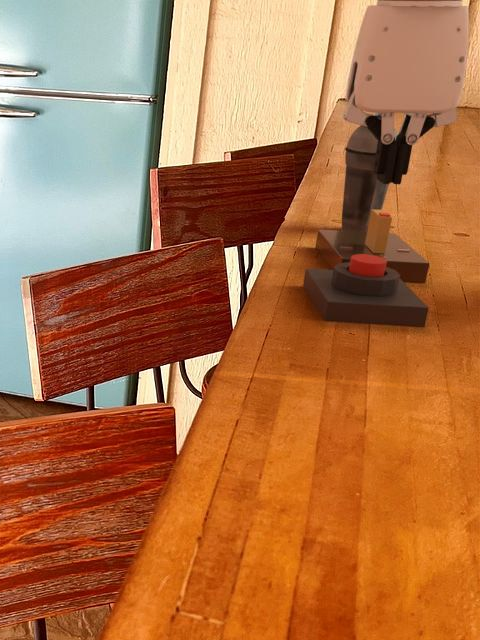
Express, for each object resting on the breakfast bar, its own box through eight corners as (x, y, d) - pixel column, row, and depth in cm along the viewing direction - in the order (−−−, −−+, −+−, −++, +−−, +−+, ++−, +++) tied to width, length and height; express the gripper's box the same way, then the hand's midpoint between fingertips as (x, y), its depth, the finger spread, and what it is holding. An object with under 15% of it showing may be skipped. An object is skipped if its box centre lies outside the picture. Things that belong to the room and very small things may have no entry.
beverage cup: (390, 231, 128) (418, 87, 121) (378, 241, 123) (407, 91, 115) (338, 223, 132) (363, 83, 124) (325, 233, 126) (349, 87, 119)
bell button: (378, 270, 97) (381, 255, 96) (387, 280, 94) (391, 264, 93) (344, 268, 98) (347, 253, 97) (352, 278, 94) (355, 262, 94)
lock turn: (364, 244, 111) (371, 207, 109) (376, 245, 111) (383, 207, 109) (373, 253, 108) (380, 214, 106) (385, 253, 107) (392, 215, 106)
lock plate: (392, 251, 118) (395, 232, 117) (425, 283, 105) (430, 261, 104) (314, 247, 119) (318, 228, 118) (338, 278, 106) (342, 257, 105)
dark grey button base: (391, 291, 102) (398, 258, 101) (424, 327, 91) (433, 290, 90) (302, 286, 103) (308, 253, 102) (324, 321, 92) (331, 284, 91)
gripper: (488, -10, 87) (451, 176, 94) (331, -10, 89) (306, 173, 96) (520, -10, 80) (477, 191, 88) (349, -10, 82) (321, 187, 89)
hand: (388, 181), depth 92 cm, fingers closed
